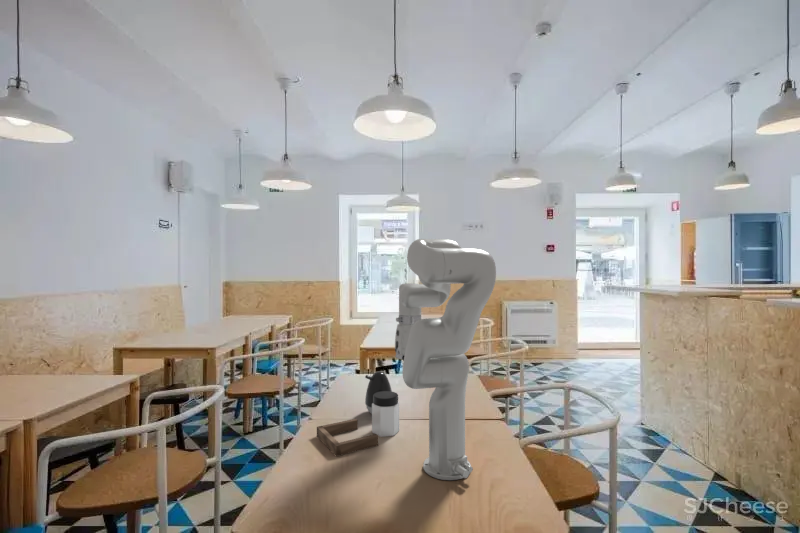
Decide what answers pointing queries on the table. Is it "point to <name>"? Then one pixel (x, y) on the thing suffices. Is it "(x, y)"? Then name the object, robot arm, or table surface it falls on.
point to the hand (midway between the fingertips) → (409, 374)
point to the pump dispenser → (376, 387)
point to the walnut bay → (346, 446)
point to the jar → (385, 413)
